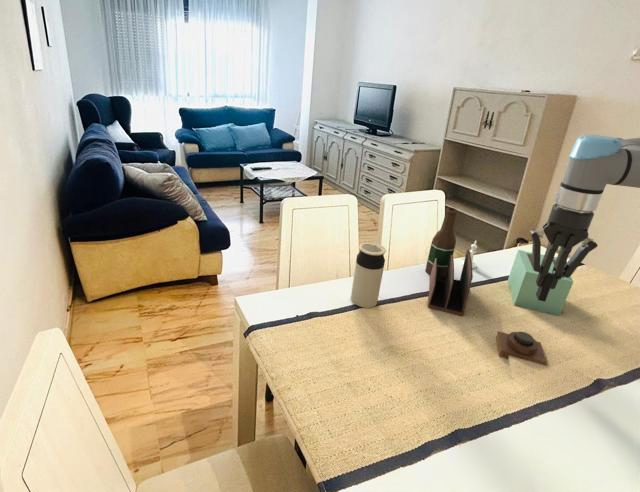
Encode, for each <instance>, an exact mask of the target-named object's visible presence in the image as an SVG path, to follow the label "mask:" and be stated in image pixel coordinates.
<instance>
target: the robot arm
mask: <svg viewBox="0 0 640 492" xmlns="http://www.w3.org/2000/svg"><path fill="white" fill-rule="evenodd" d="M607 185H611V186H619V187H629V188H636V189H640V137H632V138H626V139H624V138H621V137H615V136H607V135H600V134H582V135H580V136H578V138H577V139H576V140H575V143H574V144H573V146H572V149H571V151H570V154H569V156H568V160H567V164H566V167H565V169H564V173H563V176H562V179H561V182H560V184H559V188H558V189H557V194H556V196H555V198H554V203H555V204H553V205H552V208H551V209H550V213H549V216H548V219H547V221H546V223H545V224H543V226H542V227H541V228H539V229H536V230H535V229H534V228H532V229H530V230H529V234H530V236H531V238H532V246H531V248H532V250H531V253H532V267H533V269H534V271H536V272H539V274H538V277H537V279H536V284H537V286H539V287H538V290H537V293H536V296H537V299H538V300H540V301H546V298H547V296H548V293H549V290H550V289H554V288H555V287H556V285H557V282H558V280H560V279H561V277H567V278H568V277H570V276H571V277H572V275H573V273H575V271H576V270H577V268H578V267H579V266H580V265H581V263H582V262H583V260H585V258H586V257H587V256H588V254H589V253H590V252H592V251H593V250H595V249H597V248H598V243H597V242H596V241H595V240H594V239H593V238H591V237H589V228H590V226H591V223H592V221H593V218H594V216H595V213H594V212H595V211H597V209H598V206H599V203H600V201H601V198H602V195H603V193H604V191H605V188H606V186H607ZM544 236H545V237H546V239H547V246H546V249H545V252H544V254H543V255H544V258H543V260H542V263H541V266H540V254H541V250H542V249H541V248H542V243H541V240H542V239H543V238H544ZM580 243H581V244H580ZM579 244H580V245H579ZM577 245H579V246H578V247H577V249H576V250H575V251H574V252H573V254H572V255H571V257H570V258H569V256H570V254H571V252H572V250H573V248H574V247H575V246H577ZM559 247H560V248H559ZM557 251H558V254H557V256H555V255H556V253H557ZM554 257H557V259H556V262H555V264H554V267H553V270H552V273H549V269H550V266H551V264H552V261H553V258H554ZM568 258H569V259H568ZM566 261H567V264H566ZM565 264H566V265H565Z"/></svg>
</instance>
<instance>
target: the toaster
mask: <svg viewBox="0 0 640 492" xmlns="http://www.w3.org/2000/svg"><path fill="white" fill-rule="evenodd" d="M544 255H545V254H541V253H540V266H541V263H542V260H543V258H544ZM556 259H557V256H554V258H553V261H552V264H551V266H550V269H549V273H552V270H553V267H554V264H555V262H556ZM538 274H539V272H536V271H534V269H533V267H532V251H531V252H530V251H525V250H520V249H517V251H516V254H515V258H514V260H513V264H512V266H511V270H510V273H509V275H508V279H507V283H508V287H509V291H510V294H511V299H512V302H513V306H516V307H519V308H520V307H521V308H524V309H527V310H532V311H536V312H541V313H546V314H550V315H552V316H553V315H554V316H558V317H560V316H561V313H562V311H563V308H564V306H565V304H566V301H567V299H568V296H569V294H570V292H571V289H572V286H573V284H574V280H573V278H572V275H571V276H570V277H568V278H567V277H561V279H560V280H558V282H557V285H556V287H555V288H554V289H550V290H549V293H548V296H547V298H546V301H540V300H538V299H537V296H536V293H537V290H538V287H539V286H537V284H536V279H537V277H538Z"/></svg>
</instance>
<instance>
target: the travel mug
mask: <svg viewBox="0 0 640 492" xmlns="http://www.w3.org/2000/svg"><path fill="white" fill-rule="evenodd" d="M358 249H359V252H358V253H357V255H356V258H355V259H356V260H355V266H354V273H353V280H352V286H351V293H350V300H351V302H352V303H353V304H354V305H355V306H358V307H361V308H368V309H370V308H374V307H375V306H377V304H378V301H379V295H380V290H381V285H382V279H383V274H384V268H385V263H386V258H385V256H384V255H385V254H386V252H387V249H386V247H384V246H383V245H382V244H379V243H377V242H362V243H360V245H359V246H358Z"/></svg>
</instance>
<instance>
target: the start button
mask: <svg viewBox="0 0 640 492" xmlns="http://www.w3.org/2000/svg"><path fill="white" fill-rule="evenodd" d="M516 332H517V334H516V337H515V340H516V341H517V342H518V343H520V344H522V345H525V346H531V344H532V341H533V339H534V337H533V336H532V335H531V334H530V333H528V332H526V331H516Z"/></svg>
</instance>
